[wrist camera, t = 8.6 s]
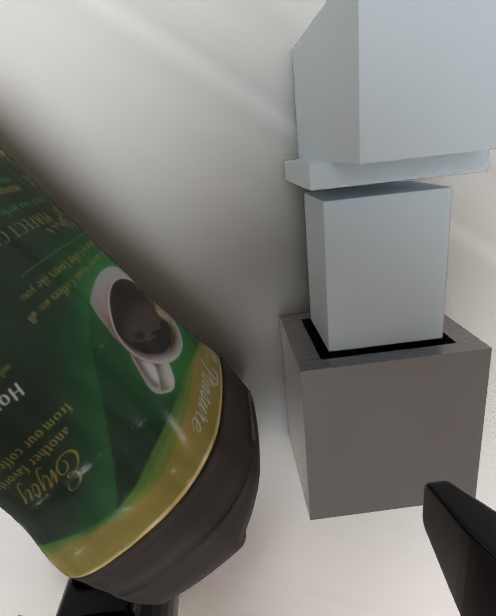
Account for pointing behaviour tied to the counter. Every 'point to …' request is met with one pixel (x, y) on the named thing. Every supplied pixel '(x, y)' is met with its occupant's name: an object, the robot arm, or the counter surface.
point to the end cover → (388, 157)
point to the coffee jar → (112, 415)
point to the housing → (383, 417)
